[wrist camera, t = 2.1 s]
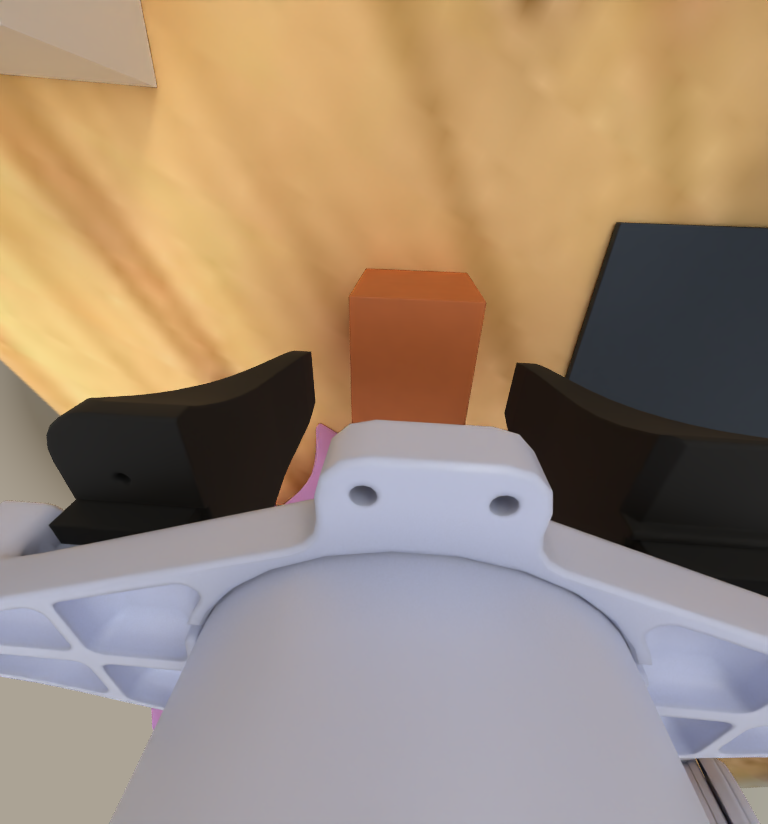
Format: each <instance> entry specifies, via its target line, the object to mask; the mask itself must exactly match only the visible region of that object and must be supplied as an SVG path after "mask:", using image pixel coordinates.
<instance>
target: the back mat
mask: <svg viewBox="0 0 768 824" xmlns="http://www.w3.org/2000/svg"><path fill="white" fill-rule="evenodd" d="M566 378H567V379H569V380H571V381H573V382H574V383H576V384H578V385H580V386H582V387H584V388H586V389H588V390H591V391H593V392H595V393H597V394H599V395H602V396H604V397H606V398H608V399H611V400H613V401H616V402H618V403H621V404H624V405H626V406H629V407H632V408H634V409H637V410H640V411H644V412H647V413H650V414H653V415H657V416H660V417H664V418H667V419H671V420H675V421H679V422H683V423H687V424H691V425H696V426H700V427H705V428H710V429H714V430H719V431H725V432H731V433H737V434H744V435H750V436H756V437H763V438H768V228H760V227H732V226H705V225H677V224H650V223H622V222H617V223H616V225H615V228H614V232H613V235H612V238H611V241H610V244H609V247H608V250H607V253H606V256H605V259H604V262H603V265H602V268H601V271H600V274H599V277H598V280H597V283H596V286H595V289H594V293H593V296H592V299H591V302H590V305H589V308H588V311H587V314H586V317H585V320H584V323H583V326H582V329H581V332H580V335H579V338H578V341H577V344H576V347H575V350H574V354H573V357H572V360H571V363H570V366H569V369H568V372H567V375H566Z"/></svg>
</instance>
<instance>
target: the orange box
mask: <svg viewBox="0 0 768 824" xmlns="http://www.w3.org/2000/svg"><path fill="white" fill-rule="evenodd" d="M485 308H486V301H485V300H484V298H483V297H482V295H481V294H480V292H479V291H478V289H477V288H476V286H475V284H474V283H473V281H472V280H471V278H470V277H469V275H468V274H467V273H456V272H433V271H410V270H387V269H365V271H364V273H363V274H362V276H361V278H360V279H359V281H358V283H357V284H356V286H355V287H354V289H353V291H352V292H351V294H350V296H349V321H350V365H351V409H352V423H358V422H364V421H370V420H391V421H407V422H424V423H440V424H456V425H465V421H466V415H467V409H468V404H469V398H470V393H471V387H472V381H473V376H474V370H475V364H476V359H477V353H478V347H479V342H480V336H481V330H482V325H483V319H484V313H485Z"/></svg>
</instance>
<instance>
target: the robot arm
mask: <svg viewBox="0 0 768 824" xmlns="http://www.w3.org/2000/svg"><path fill="white" fill-rule="evenodd" d="M314 405H315V392H314V380H313V368H312V357H311V352H307V351H291V352H288V353H285V354H283V355H280V356H278V357H276V358H274V359H271V360H269V361H267V362H265V363H263V364H260V365H258V366H256V367H253V368H251V369H248V370H246V371H243V372H241V373H238V374H236V375H233V376H230V377H227V378H224V379H221V380H218V381H214V382H211V383H207V384H203V385H198V386H194V387H189V388H184V389H179V390H174V391H168V392H161V393H153V394H145V395H134V396H119V397H102V398H88V399H86V400H85V401H83V402H82V403H80V404H79V405H77V406H75V407H74V408H72V409H71V410H69V411H68V412H66V413H65V414H63V415H61V416H60V417H58V418H57V419H56V420H55V421H54V422H53V423H52V424H51V425H50V427H49V430H48V432H47V446H48V450H49V452H50V455H51V457H52V459H53V462H54V463H55V465H56V467H57V468H58V470H59V471H60V473H61V475H62V477H63V478H64V480H65V482H66V483H67V485H68V487H69V488H70V490H71V492H72V493H73V495H74V497H75V498H76V500H75V501H74V502H73V503H72V504H71V505H70V506H69V507H68V508H67V509H65V510H63V509H61V508H59V507H58V506H56V505H52V504H47V503H36V502H22V501H3V502H2V503H0V677H6V678H11V679H17V680H24V681H30V682H36V683H42V684H46V685H51V686H56V687H61V688H66V689H70V690H75V691H80V692H84V693H89V694H93V695H97V696H102V697H106V698H111V699H115V700H120V701H124V702H129V703H133V704H137V705H141V706H146V707H150V708H155V709H159V710H163V712H162V714H161V716H160V718H159V720H158V722H157V725H156V727H155V729H154V731H153V733H152V735H151V737H150V739H149V741H148V743H147V745H146V747H145V750H144V752H143V754H142V756H141V758H140V760H139V762H138V764H137V766H136V768H135V770H134V773H133V775H132V777H131V779H130V781H129V783H128V785H127V787H126V790H125V791H124V793H123V796H122V798H121V800H120V802H119V804H118V806H117V808H116V810H115V812H114V814H113V816H112V819H111V821H110V823H109V824H760V822H759V820H758V819H757V817H756V815H755V813H754V811H753V810H752V808H751V806H750V804H749V803H748V801H747V799H746V797H745V796H744V794H743V792H742V790H741V789H740V787H739V785H738V784H737V782H736V780H735V779H734V777H733V776H732V774H731V772H730V771H729V769H728V768H727V767H726V765H725V764H724V763H723V762H721V761H720V760H718V759H717V758H737V757H768V438H763V437H756V436H750V435H744V434H737V433H731V432H725V431H719V430H714V429H710V428H705V427H700V426H696V425H691V424H687V423H683V422H679V421H675V420H671V419H667V418H664V417H660V416H657V415H653V414H650V413H647V412H644V411H640V410H637V409H634V408H632V407H629V406H626V405H624V404H621V403H618V402H616V401H613V400H611V399H608V398H606V397H604V396H602V395H599V394H597V393H595V392H593V391H591V390H588V389H586V388H584V387H582V386H580V385H578V384H576V383H574V382H573V381H571V380H569V379H567V378H565V377H563V376H561V375H559V374H557V373H555V372H553V371H551V370H549V369H547V368H545V367H543V366H540V365H538V364H531V363H517V364H516V368H515V372H514V376H513V380H512V384H511V388H510V392H509V397H508V401H507V405H506V409H505V418H506V423H507V428H508V431H506V430H503V429H499V428H496V427H489V426H473V425H456V424H440V423H424V422H407V421H391V420H370V421H364V422H358V423H352V424H349V425H348V426H347V427H345V428H344V429H343V430H341V431H340V432H339V433H338V434H336V435H335V436H334V437H333V438H332V439H331V442H330V445H329V448H328V451H327V455H326V458H325V461H324V464H323V467H322V470H321V473H320V476H319V480H318V483H317V487H316V491H315V495H314V499H310V500H305V501H300V502H295V503H290V504H285V505H280V506H275V503H276V500H277V497H278V494H279V491H280V488H281V485H282V482H283V479H284V476H285V474H286V471H287V469H288V466H289V464H290V462H291V460H292V458H293V456H294V454H295V452H296V450H297V448H298V446H299V444H300V442H301V439H302V437H303V435H304V433H305V431H306V429H307V427H308V424H309V422H310V419H311V416H312V412H313V409H314ZM274 506H275V507H274ZM695 758H697V761H698V763H699V765H700V767H701V770H702V772H703V774H704V776H703V774H702V772H701V770H700V768H699V766H698V764H697V763H696V760H695ZM704 777H705V778H704ZM705 779H706V780H705Z"/></svg>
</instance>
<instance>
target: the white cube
mask: <svg viewBox="0 0 768 824" xmlns="http://www.w3.org/2000/svg"><path fill="white" fill-rule="evenodd" d="M0 74H6V75H17V76H29V77H40V78H52V79H63V80H75V81H87V82H98V83H110V84H121V85H133V86H145V87H156V88H157V84H156V79H155V74H154V68H153V63H152V58H151V53H150V48H149V43H148V38H147V32H146V27H145V22H144V17H143V12H142V7H141V2H140V0H0Z"/></svg>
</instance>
